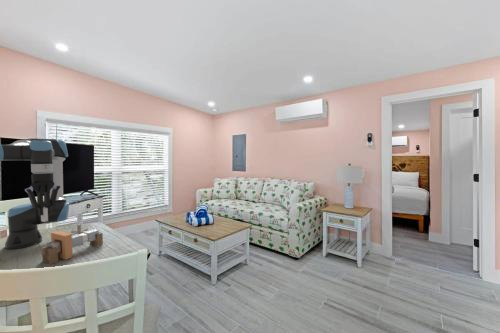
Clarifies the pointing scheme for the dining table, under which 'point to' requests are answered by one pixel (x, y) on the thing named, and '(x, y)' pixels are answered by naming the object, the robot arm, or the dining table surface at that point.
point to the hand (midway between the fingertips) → (44, 221)
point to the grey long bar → (75, 239)
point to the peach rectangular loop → (63, 243)
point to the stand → (52, 253)
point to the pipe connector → (78, 230)
